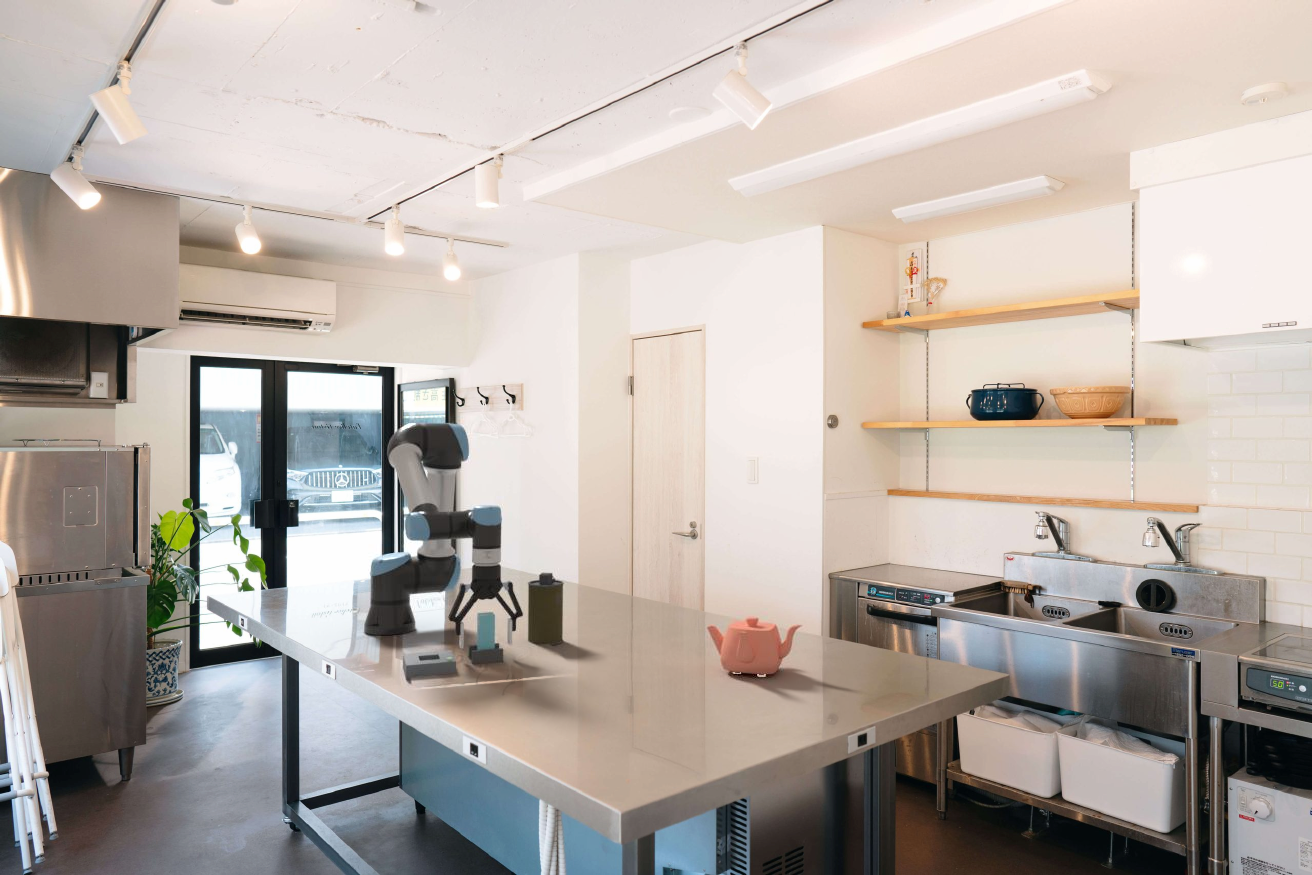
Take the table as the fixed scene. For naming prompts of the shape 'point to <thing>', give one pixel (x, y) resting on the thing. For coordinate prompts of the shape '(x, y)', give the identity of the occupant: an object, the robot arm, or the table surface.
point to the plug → (485, 631)
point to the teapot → (752, 646)
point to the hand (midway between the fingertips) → (485, 645)
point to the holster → (485, 654)
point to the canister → (545, 610)
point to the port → (428, 663)
